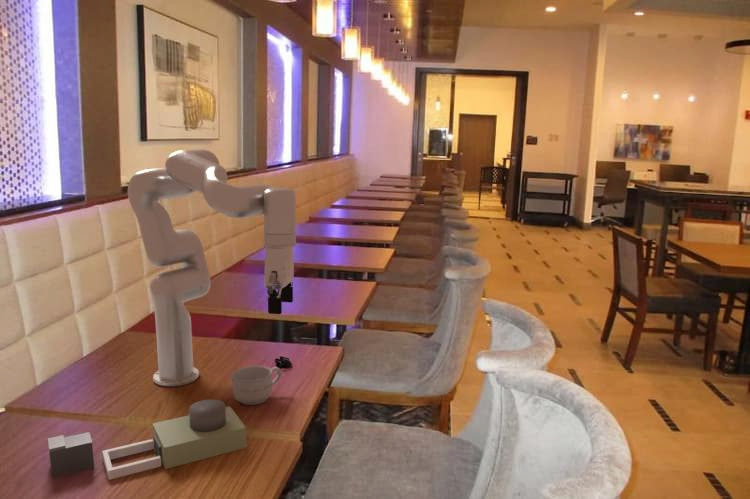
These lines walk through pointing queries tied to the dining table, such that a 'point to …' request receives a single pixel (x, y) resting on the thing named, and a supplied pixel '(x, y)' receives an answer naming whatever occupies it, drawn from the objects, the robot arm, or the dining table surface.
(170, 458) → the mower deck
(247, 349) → the dining table surface
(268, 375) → the teacup
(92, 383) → the dining table surface
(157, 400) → the dining table surface
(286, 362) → the wireless earbuds
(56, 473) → the grey block
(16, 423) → the dining table surface
